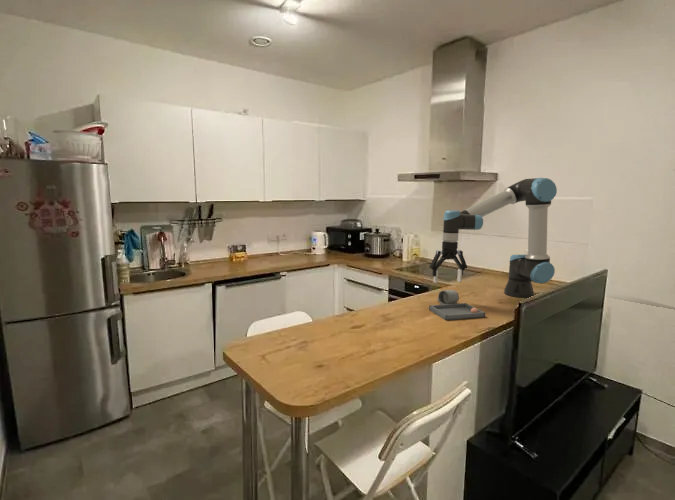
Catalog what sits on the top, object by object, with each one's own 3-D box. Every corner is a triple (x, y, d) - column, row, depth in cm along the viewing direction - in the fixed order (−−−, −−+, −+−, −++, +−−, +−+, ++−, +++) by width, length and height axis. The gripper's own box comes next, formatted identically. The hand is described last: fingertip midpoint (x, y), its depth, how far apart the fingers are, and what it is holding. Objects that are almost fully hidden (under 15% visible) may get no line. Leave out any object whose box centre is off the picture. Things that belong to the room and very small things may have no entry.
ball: (468, 311, 174) (472, 314, 175) (472, 313, 171) (476, 316, 172) (471, 305, 174) (476, 309, 175) (475, 307, 171) (480, 311, 172)
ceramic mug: (459, 304, 191) (460, 290, 190) (448, 307, 187) (448, 292, 186) (444, 300, 200) (445, 286, 199) (433, 302, 196) (433, 287, 195)
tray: (465, 307, 187) (465, 302, 186) (485, 317, 171) (485, 312, 171) (429, 309, 182) (429, 305, 182) (445, 320, 167) (446, 315, 166)
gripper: (467, 240, 194) (464, 279, 197) (424, 240, 188) (421, 281, 191) (476, 241, 187) (473, 283, 190) (431, 242, 181) (428, 284, 184)
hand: (447, 282), depth 191 cm, fingers open, 13 cm apart
